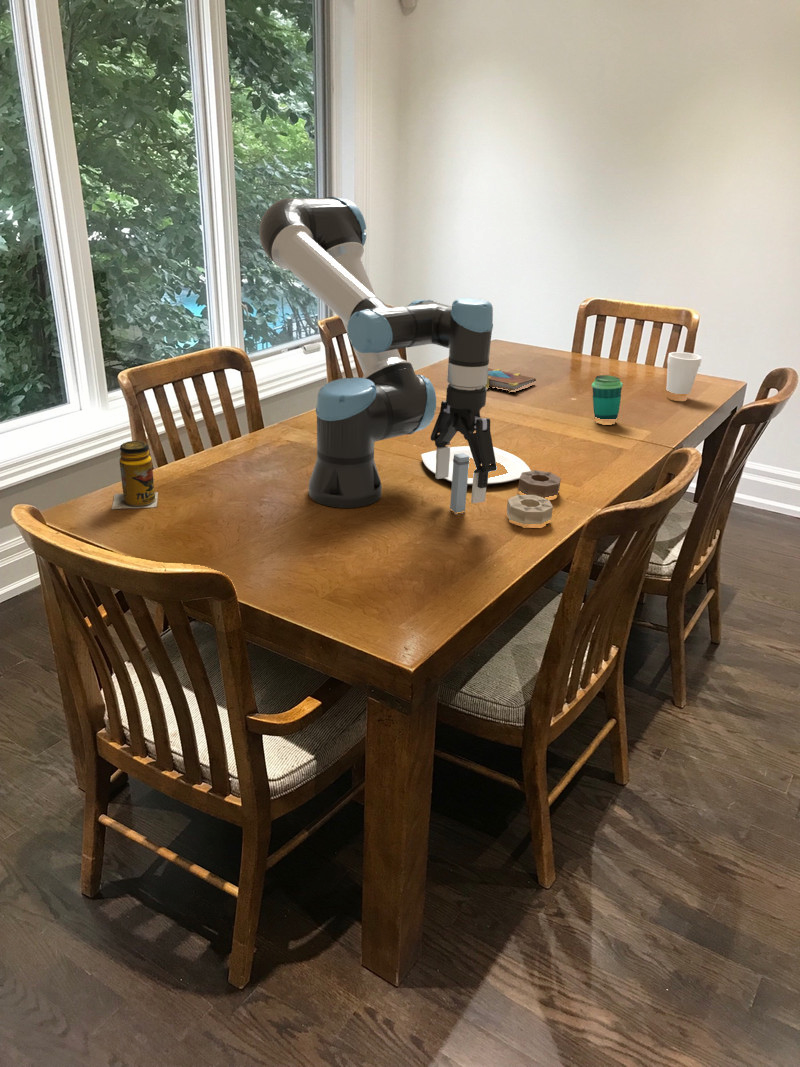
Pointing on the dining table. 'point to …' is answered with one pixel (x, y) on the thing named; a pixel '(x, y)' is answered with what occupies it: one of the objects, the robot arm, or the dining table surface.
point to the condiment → (136, 477)
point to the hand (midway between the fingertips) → (459, 489)
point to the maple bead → (529, 509)
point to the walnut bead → (539, 483)
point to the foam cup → (682, 371)
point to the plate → (504, 458)
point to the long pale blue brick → (459, 482)
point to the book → (506, 379)
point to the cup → (606, 396)
